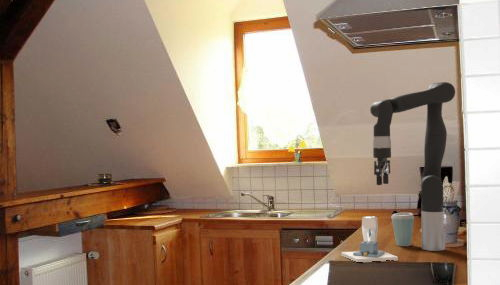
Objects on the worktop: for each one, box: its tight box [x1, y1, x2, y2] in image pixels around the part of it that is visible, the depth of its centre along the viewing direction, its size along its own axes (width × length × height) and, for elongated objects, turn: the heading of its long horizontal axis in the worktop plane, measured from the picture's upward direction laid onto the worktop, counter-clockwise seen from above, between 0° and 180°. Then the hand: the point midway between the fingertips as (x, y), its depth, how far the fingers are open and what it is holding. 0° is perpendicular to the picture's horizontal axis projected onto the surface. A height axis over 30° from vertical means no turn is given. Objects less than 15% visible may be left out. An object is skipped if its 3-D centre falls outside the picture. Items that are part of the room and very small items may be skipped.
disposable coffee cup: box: [390, 212, 415, 247], centre depth 268 cm, size 11×11×15 cm
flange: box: [353, 240, 386, 258], centre depth 237 cm, size 10×10×5 cm
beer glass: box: [361, 215, 379, 242], centre depth 254 cm, size 7×7×15 cm
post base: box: [340, 242, 399, 263], centre depth 237 cm, size 18×16×6 cm
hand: (382, 184), depth 246 cm, fingers open, 8 cm apart
